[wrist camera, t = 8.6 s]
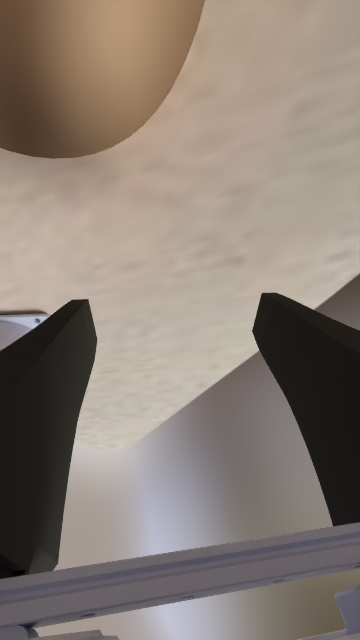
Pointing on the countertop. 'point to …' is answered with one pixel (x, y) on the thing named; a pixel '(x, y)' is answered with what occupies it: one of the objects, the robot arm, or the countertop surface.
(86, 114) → the lid
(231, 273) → the countertop surface
